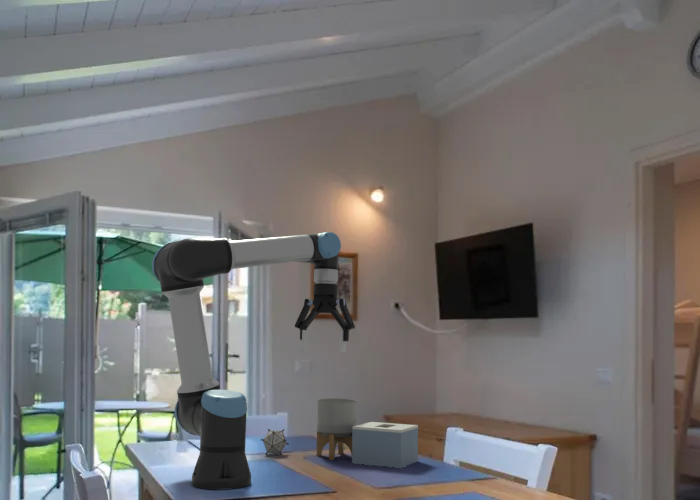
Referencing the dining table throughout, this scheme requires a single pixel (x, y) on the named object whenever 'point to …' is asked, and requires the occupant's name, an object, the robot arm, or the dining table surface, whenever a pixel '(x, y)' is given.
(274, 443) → the game die
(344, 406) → the planter
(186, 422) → the robot arm
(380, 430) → the coin box
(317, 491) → the dining table surface
